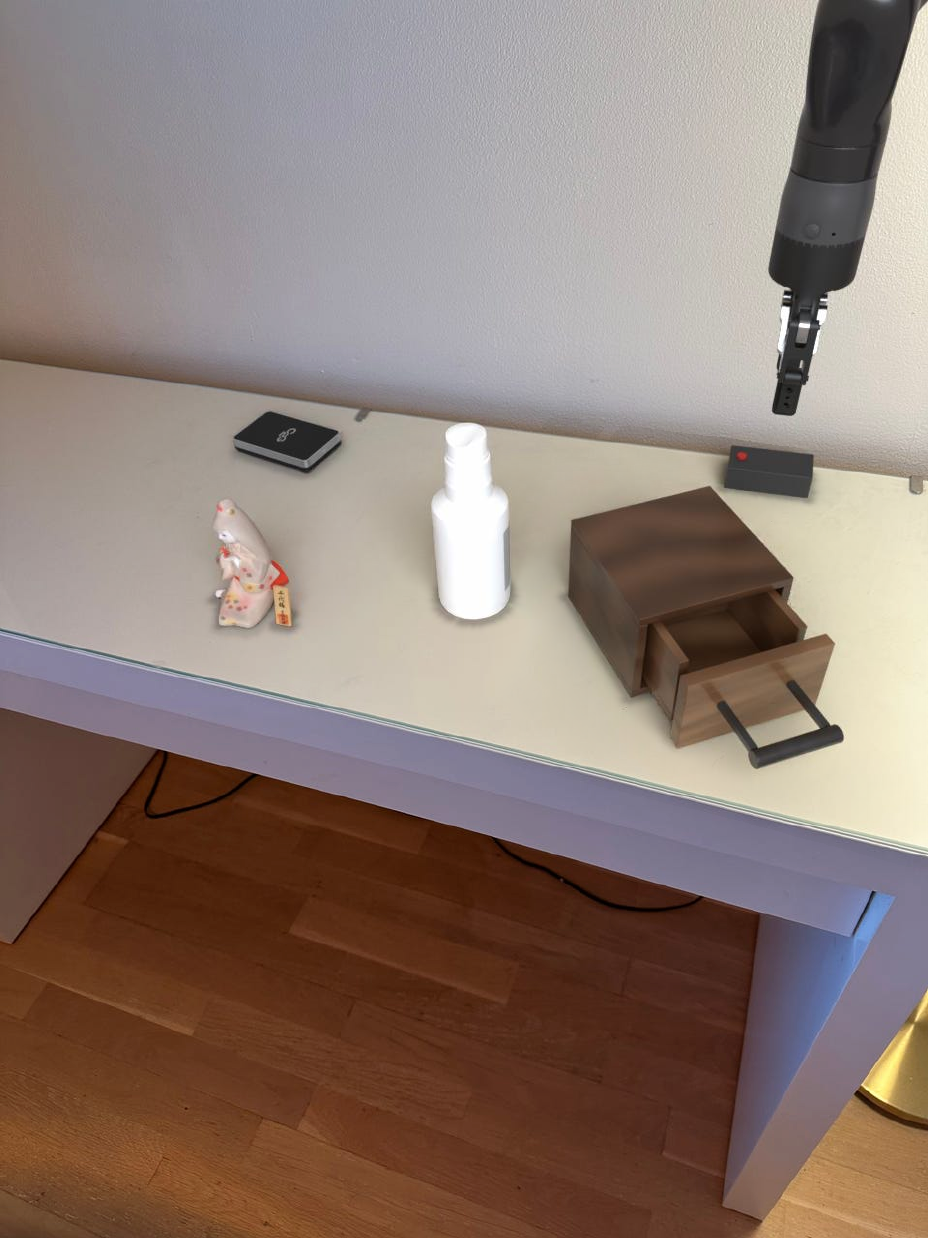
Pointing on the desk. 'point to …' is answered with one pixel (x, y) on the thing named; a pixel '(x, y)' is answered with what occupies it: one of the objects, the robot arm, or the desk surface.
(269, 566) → the figurine
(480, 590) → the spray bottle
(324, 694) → the desk surface
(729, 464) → the remote
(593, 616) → the cabinet
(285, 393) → the desk surface
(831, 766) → the desk surface
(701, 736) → the drawer
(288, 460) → the external hard drive
